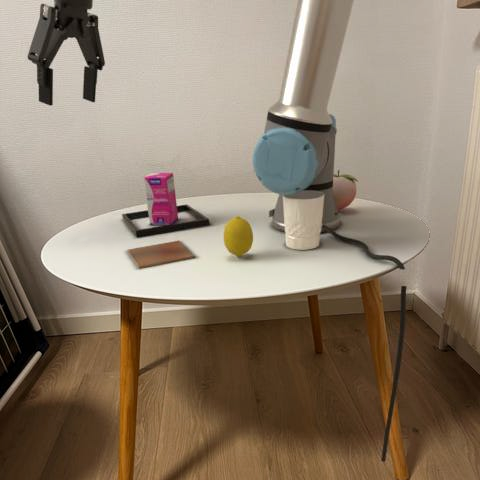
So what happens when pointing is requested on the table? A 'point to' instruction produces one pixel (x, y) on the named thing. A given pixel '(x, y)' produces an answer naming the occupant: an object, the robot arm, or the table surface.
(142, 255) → the mat
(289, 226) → the white cup
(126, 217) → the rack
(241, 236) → the lemon
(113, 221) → the table surface
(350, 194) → the decorative fruit
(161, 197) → the supplement box
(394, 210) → the table surface
